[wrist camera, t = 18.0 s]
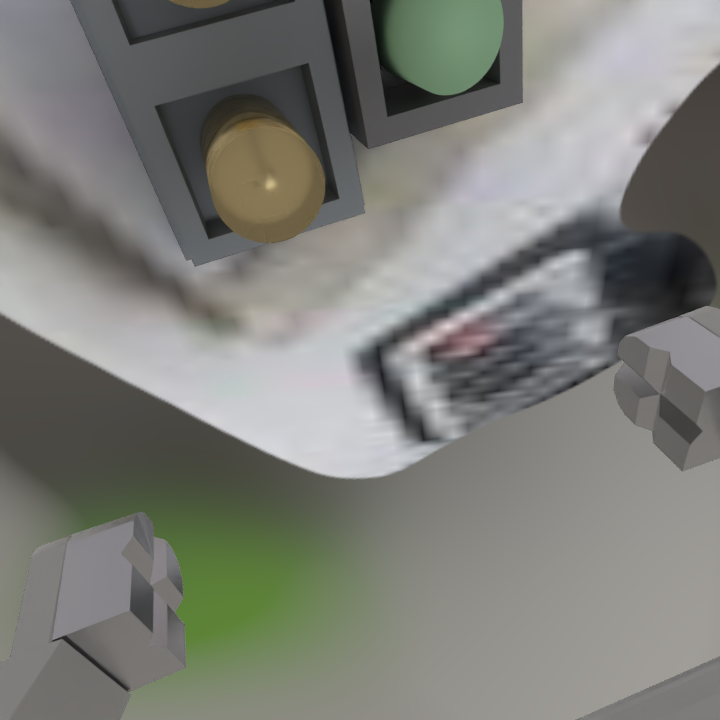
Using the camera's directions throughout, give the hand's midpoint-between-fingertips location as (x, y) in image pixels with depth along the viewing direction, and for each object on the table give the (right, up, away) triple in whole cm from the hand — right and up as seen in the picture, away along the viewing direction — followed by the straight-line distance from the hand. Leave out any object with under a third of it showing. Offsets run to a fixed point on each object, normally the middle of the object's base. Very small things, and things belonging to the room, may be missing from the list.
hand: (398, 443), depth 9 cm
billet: (-6, +11, +15) cm, 19 cm away
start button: (+2, +15, +14) cm, 21 cm away
